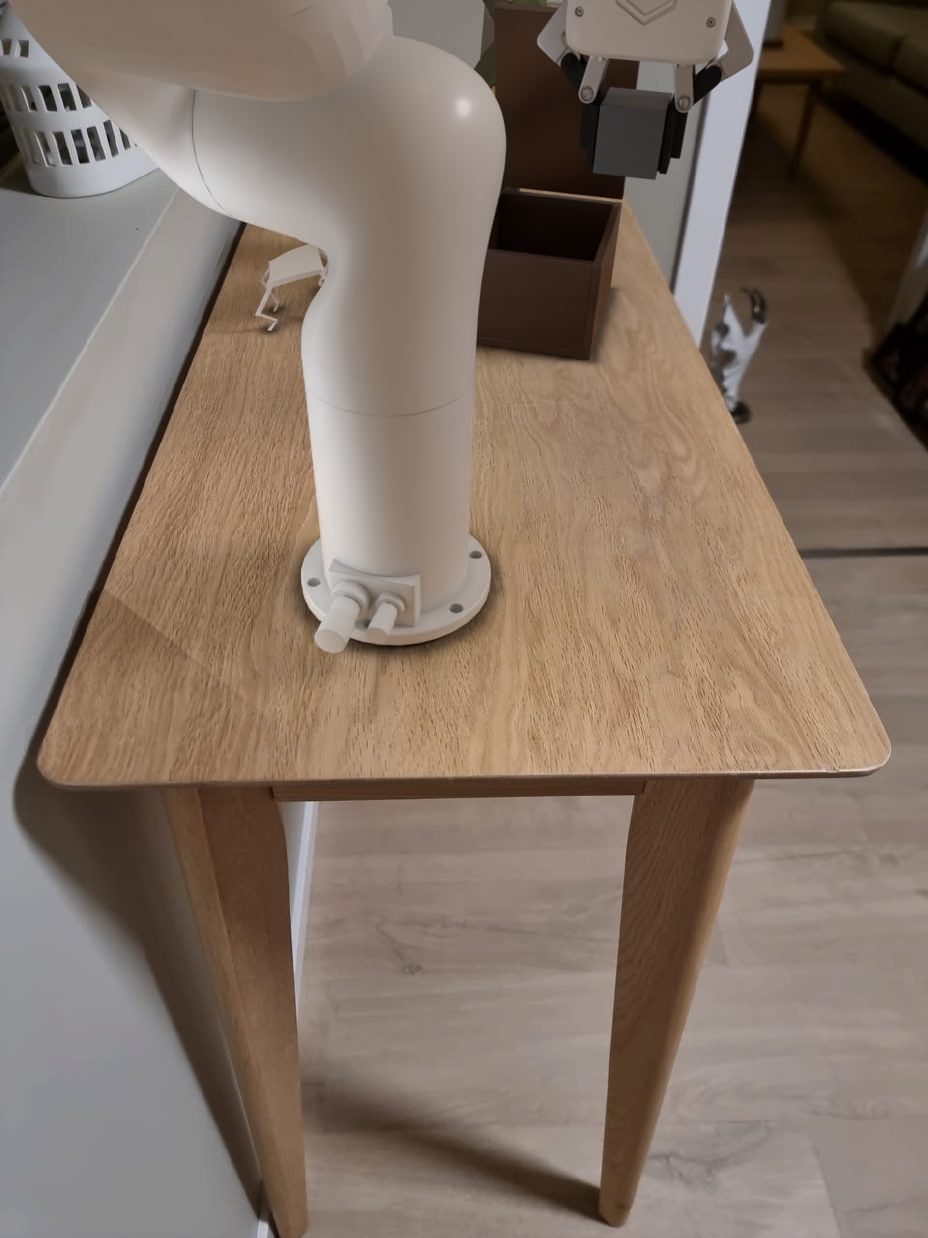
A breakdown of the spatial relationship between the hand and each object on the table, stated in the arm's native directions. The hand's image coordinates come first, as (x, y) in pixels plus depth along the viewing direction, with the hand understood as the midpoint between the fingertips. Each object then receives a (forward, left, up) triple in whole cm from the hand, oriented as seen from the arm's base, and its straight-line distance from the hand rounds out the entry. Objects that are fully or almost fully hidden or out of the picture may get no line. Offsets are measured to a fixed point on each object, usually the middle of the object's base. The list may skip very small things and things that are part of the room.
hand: (628, 160), depth 66 cm
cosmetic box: (+71, +22, -20) cm, 77 cm away
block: (0, 0, 0) cm, 0 cm away
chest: (+15, +8, -20) cm, 26 cm away
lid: (+20, +8, -3) cm, 22 cm away
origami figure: (+10, +30, -20) cm, 37 cm away
